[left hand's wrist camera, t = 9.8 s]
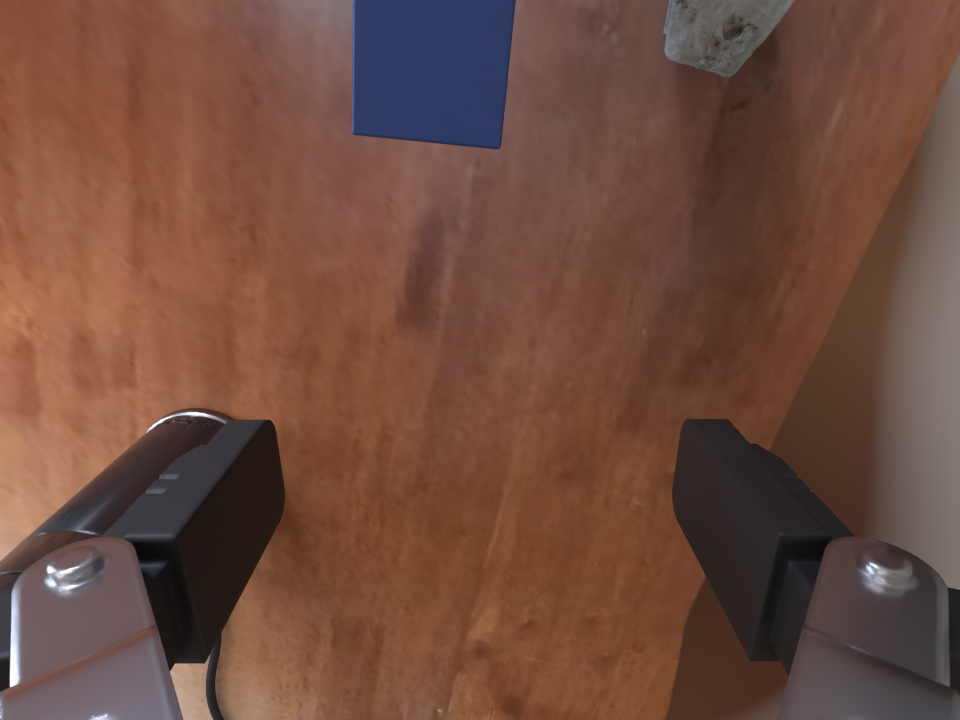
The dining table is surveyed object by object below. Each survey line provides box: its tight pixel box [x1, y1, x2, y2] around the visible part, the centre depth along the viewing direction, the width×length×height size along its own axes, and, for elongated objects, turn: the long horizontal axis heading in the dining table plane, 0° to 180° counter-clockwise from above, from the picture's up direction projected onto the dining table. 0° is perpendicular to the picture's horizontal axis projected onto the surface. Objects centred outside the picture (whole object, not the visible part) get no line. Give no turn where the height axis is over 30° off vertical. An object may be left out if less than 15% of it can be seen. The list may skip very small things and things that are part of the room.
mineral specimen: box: [663, 0, 795, 78], centre depth 29 cm, size 7×9×8 cm
